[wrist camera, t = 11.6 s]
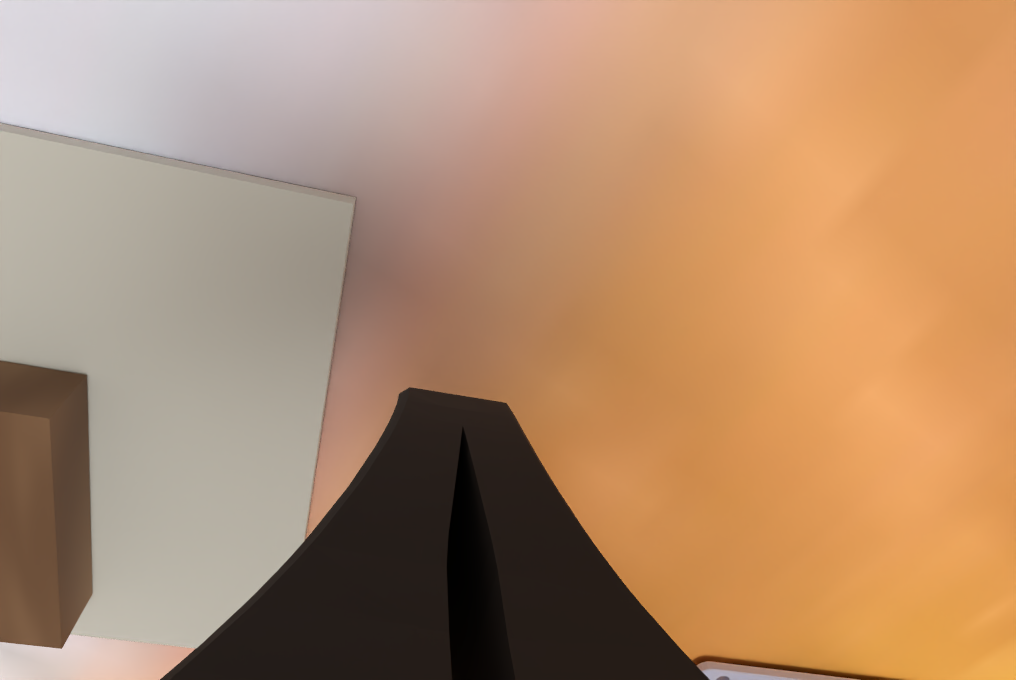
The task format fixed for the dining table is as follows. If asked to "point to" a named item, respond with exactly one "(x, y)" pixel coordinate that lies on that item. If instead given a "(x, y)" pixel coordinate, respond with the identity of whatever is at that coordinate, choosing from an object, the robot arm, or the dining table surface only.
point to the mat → (176, 363)
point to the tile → (43, 504)
